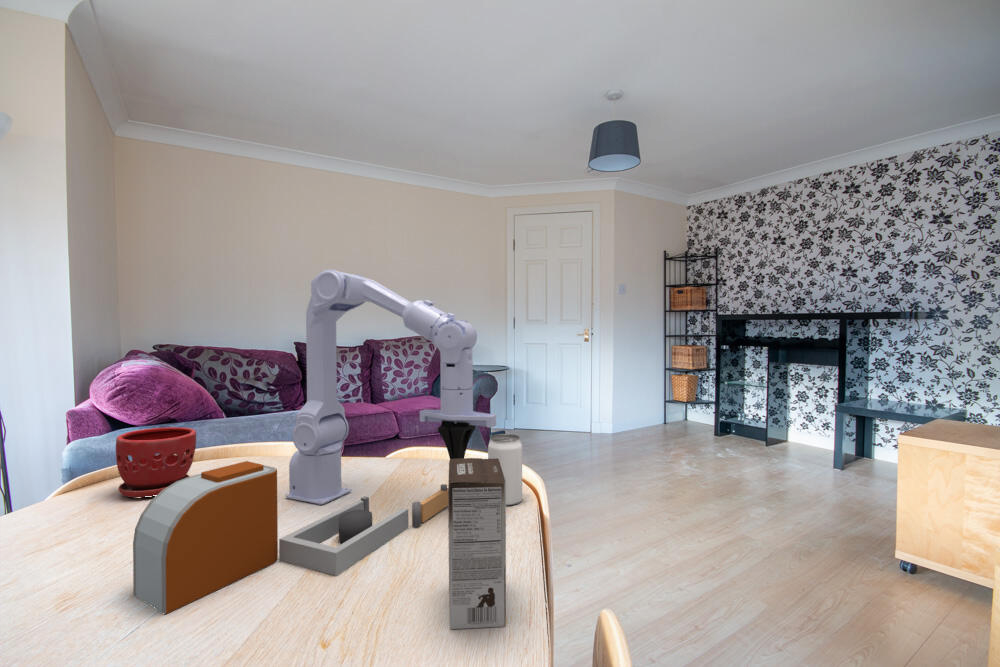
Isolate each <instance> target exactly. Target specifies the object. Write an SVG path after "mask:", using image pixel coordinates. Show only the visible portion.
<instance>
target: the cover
mask: <svg viewBox="0 0 1000 667" xmlns="http://www.w3.org/2000/svg"><path fill="white" fill-rule="evenodd" d="M447 507H448V484H440V489H439V490H438V491H437V492H435V493H434V494H432V495H430V496H428V497H427V498H425V499H423V500H422V501H412V503H411V520H412V521H411V524H412V525H411V526H412V527H415V528H416V527H420V526H421V525H422V523H424V522H426V521H428V520H429V519H430V518H432V517H433V516H435V515H436V514H438V513H440V512H441V511H442V510H444V509H445V508H447Z"/></svg>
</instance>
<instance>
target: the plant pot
mask: <svg viewBox="0 0 1000 667" xmlns="http://www.w3.org/2000/svg"><path fill="white" fill-rule="evenodd" d="M196 448H197V431H196V430H195V429H193V428H189V427H178V426H175V427H172V426H171V427H169V426H168V427H155V428H153V427H152V428H145V429H138V430H132V431H129V432H125V433H121V434H119V435H118V436H117V437H116V438H115V459H116V460H115V461H116V467H117V470H118V474H119V476H120V478H121V480H122V481H123V483H120V485H119V486H118V492H119V493H120V494H121V495H122V496H124V497H126V496H127V498H130V497H145V496H153V495H158V494H159V493H160V492H161V491H162V490H163V489H165V488H167V487H168V486H170V485H171V484H173V483H175V482H176V481H179V480H182V479H184V478H187V477H190V475H189V474H188V473H189V472H190V469H191V467H192V464H193V461H194V456H195V452H196ZM129 457H131V460H130V459H129Z"/></svg>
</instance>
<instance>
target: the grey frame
mask: <svg viewBox="0 0 1000 667" xmlns="http://www.w3.org/2000/svg"><path fill="white" fill-rule="evenodd" d="M353 510H367V511H370V497H369V496H362V497H360V500H359V499H358V500H356V501H354V502H352V503H350V504H348V505H346V506H344V507H341V508H339V509H337V510H335V511H334V512H331V513H330V514H327V515H325V516H324V517H323V516H322V518H319V519H317V520H315V521H313V522H311V523H309V524H307V525H305V526H303V527H301V528H299V529H296V530H295V531H293V532H290V533H289V534H286V535H285V536H282V537H280V538H278V542H279V543H278V549H279V550H278V552H279V553H278V555H279V556H278V557H279V558H278V559H279V561H280V562H284V563H288V564H291V565H295V566H298V567H302V568H306V569H310V570H314V571H317V572H321V573H324V574H329V575H332V576H338V575H340V574H341V573H343V572H344V571H346V570H348V569H349V568H350V567H352V566H354V565H355V564H357V563H358V562H359V561H360V560H362V559H364V558H365V557H366V556H368V555H370V554H371V553H373V552H374V551H376V550H377V549H379V548H380V547H382V546H383V545H384V544H386V543H387V542H389V541H391V540H392V539H394V538H395V537H397V536H398V535H399V534H401V533H403V532H404V531H406V530H407V529H409V509H408V508H403V507H402V508H400V509H398V510H397V511H395V512H394V513H392V514H390V515H388V516H386V517H385V518H383V519H382V520H380V521H378V522H376V523H375V524H372V526H371V527H370V528H368V529H366V530H365V531H363V532H361V533H359V534H358V535H356V536H354V537H353V538H351V539H349V540H348V541H346V542H344V543H343V544H341V543H340V544H339V545H338V546H330V545H327V544H322V543H323V542H324V541H326V540H328V539H330V538H331V537H334V536H335V535H337V534H339V516H340V515H342V514H343V513H346V512H349V511H353Z"/></svg>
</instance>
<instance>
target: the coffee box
mask: <svg viewBox="0 0 1000 667" xmlns="http://www.w3.org/2000/svg"><path fill="white" fill-rule="evenodd" d="M447 488H448V506H447V507H448V511H447V512H448V518H447V519H448V526H447V527H448V595H449V596H448V597H449V598H448V599H449V605H448V608H449V609H448V610H449V611H448V612H449V629H450V630H462V629H463V630H464V629H482V628H484V629H485V628H499V627H500V628H502V627H506V625H507V618H506V617H507V616H506V615H507V611H506V610H507V609H506V608H507V606H506V603H507V602H506V601H507V600H506V599H507V597H506V596H507V594H506V593H507V592H506V590H507V584H506V583H507V582H506V581H507V580H506V578H507V573H506V572H507V571H506V570H507V568H506V567H507V561H506V560H507V551H506V550H507V549H506V548H507V541H506V540H507V530H506V529H507V515H506V514H507V512H506V510H507V508H506V507H507V506H506V481H505V478H504V475H503V471H502V468H501V465H500V462H499V459H498V458H494V459H488V458H481V457H475V458H474V457H467V458H466V457H464V458H459V459H450V458H449V461H448V484H447Z"/></svg>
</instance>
